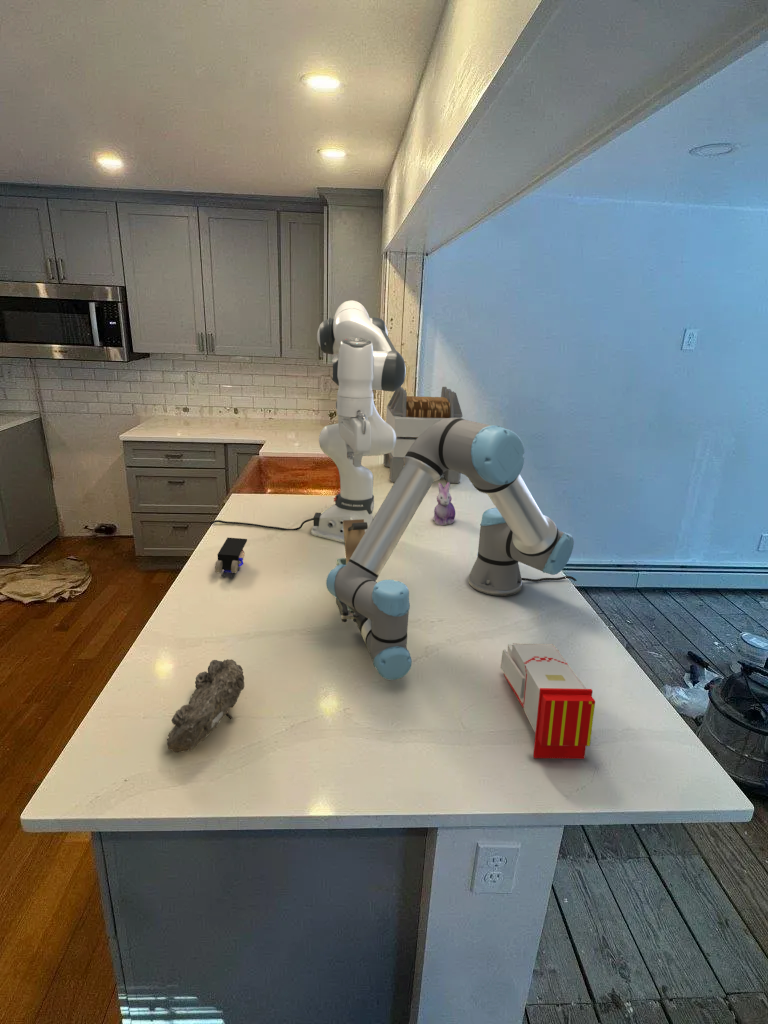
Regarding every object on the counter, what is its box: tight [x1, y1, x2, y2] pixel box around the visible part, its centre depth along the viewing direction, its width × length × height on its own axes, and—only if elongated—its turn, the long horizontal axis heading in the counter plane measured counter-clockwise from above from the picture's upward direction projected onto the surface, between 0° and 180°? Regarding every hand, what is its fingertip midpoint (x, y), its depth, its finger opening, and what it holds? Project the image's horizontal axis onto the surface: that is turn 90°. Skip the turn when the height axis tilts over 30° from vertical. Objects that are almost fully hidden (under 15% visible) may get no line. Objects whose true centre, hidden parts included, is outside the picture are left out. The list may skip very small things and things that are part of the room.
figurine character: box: [214, 537, 248, 578], centre depth 166 cm, size 7×8×15 cm
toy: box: [499, 642, 596, 760], centre depth 113 cm, size 12×13×30 cm
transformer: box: [383, 385, 463, 484], centre depth 268 cm, size 34×33×41 cm
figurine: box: [433, 482, 456, 526], centre depth 211 cm, size 9×10×15 cm
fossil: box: [166, 658, 245, 754], centre depth 106 cm, size 22×10×15 cm
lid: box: [343, 519, 368, 564], centre depth 143 cm, size 15×5×8 cm
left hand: (353, 462), depth 143 cm, fingers open, 6 cm apart
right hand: (354, 582), depth 150 cm, fingers closed on chest, 5 cm apart
